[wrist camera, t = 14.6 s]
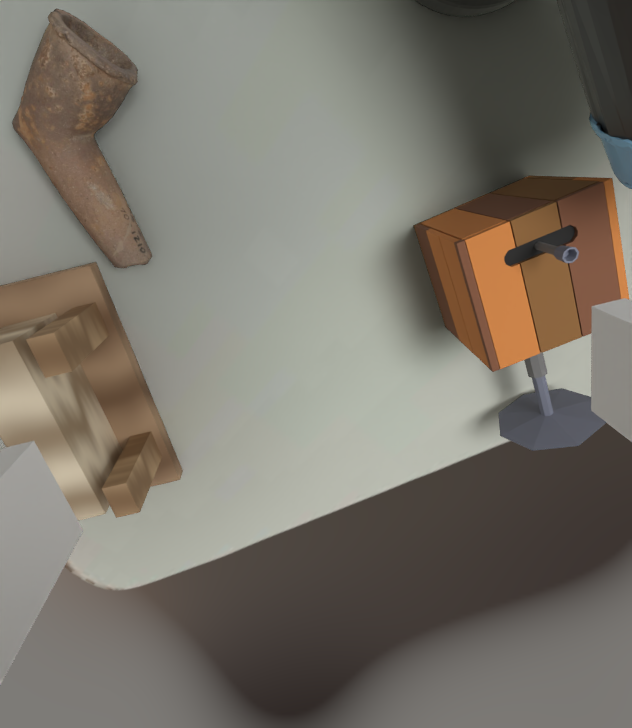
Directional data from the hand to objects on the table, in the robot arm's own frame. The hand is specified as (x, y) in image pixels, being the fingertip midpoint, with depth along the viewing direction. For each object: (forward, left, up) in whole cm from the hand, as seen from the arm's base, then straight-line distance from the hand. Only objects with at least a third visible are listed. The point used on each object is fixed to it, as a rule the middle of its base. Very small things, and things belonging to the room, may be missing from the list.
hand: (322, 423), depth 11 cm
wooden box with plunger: (+10, +18, -32) cm, 38 cm away
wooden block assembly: (+9, -23, -32) cm, 40 cm away
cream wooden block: (+9, -23, -30) cm, 39 cm away
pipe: (-10, -12, -32) cm, 36 cm away
